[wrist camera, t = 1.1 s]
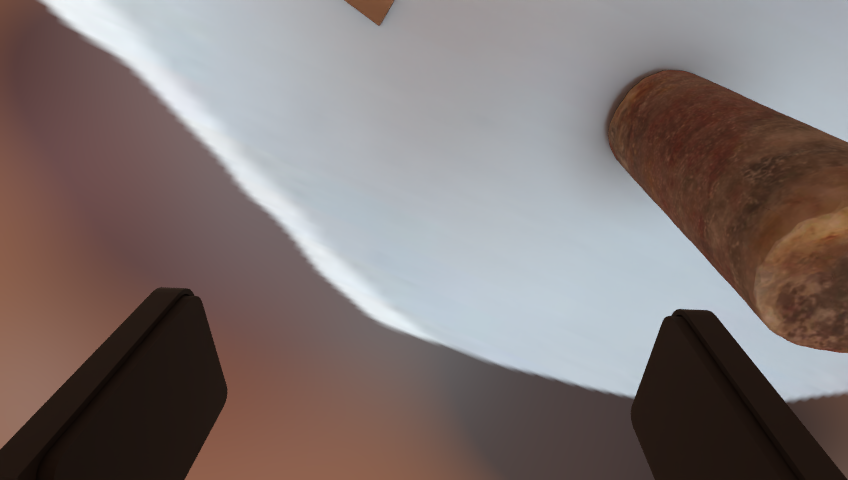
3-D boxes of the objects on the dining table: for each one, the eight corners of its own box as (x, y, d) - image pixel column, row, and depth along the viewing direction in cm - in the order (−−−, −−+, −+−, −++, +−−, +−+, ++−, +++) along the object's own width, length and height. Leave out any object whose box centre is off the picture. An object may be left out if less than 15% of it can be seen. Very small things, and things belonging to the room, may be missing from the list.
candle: (658, 187, 35) (862, 385, 18) (581, 145, 34) (720, 315, 16) (733, 99, 32) (1080, 239, 14) (650, 47, 30) (922, 133, 13)
